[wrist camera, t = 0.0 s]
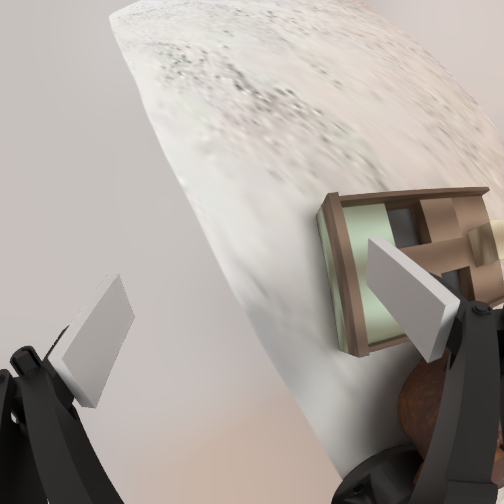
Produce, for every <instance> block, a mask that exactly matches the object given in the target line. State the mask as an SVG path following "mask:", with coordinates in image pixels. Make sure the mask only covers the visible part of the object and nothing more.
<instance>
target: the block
mask: <svg viewBox="0 0 504 504" xmlns="http://www.w3.org/2000/svg"><path fill="white" fill-rule="evenodd" d="M468 235H469V239H470V243H471V247H472V251H473V256H474V260H475V265H476V267H480V266H483V265H486V264H489V263H492V262H495V261H498V260H501V259H504V219H501V220H495V221H489V222H487V223H485V224H484V225H482V226H480V227H478V228H476V229H474V230H472V231H470V232H468Z"/></svg>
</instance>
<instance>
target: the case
mask: <svg viewBox="0 0 504 504" xmlns="http://www.w3.org/2000/svg"><path fill="white" fill-rule="evenodd" d="M450 352H451V351H450V350H449V349H448V347H447V346H446V347H445V350H444V353H443V355H442V357H441V358H439V359H436V360H434V361H431V362H429V363H427V362H426V360H425V359H423V360H422V361H421V362H420V363H419V364H418V366H417V367H416V368H415V369H414V370H413V372H412V373H411V374H410V376H409V377H408V379H407V381H406V382H405V384H404V387H403V389H402V391H401V395H400V398H399V404H398V412H399V419H400V423H401V426H402V428H403V430H404V432H405V433H406V435H407V436H408V437H409V438H410V440H411V441H412V443H413V444H414V446H415V447H416V449H417V450H418V452H419V454H420V455H421V457H422V458H423V460H424V462H425V459H426V456H427V453H428V450H429V446H430V443H431V440H432V436H433V433H434V429H435V425H436V421H437V417H438V413H439V408H440V404H441V399H442V394H443V388H444V383H445V377H446V370H447V368H446V370H445V371H443V369H444V367H445V364H446V362H447V359H448V357H449V354H450ZM424 462H423V463H422V464H421V466H420V469H419V471H418V472H417V473H416V475H415V477H414V480H413V484H414V487H415V486H416V483H417V481H418V478H419V476H420V473H421V470H422V468H423V465H424ZM491 480H492V482H493V483H495V484H497V487H498V489H500V488H502V487H504V446H503V437H502V429H501V422H500V416H499V429H498V438H497V446H496V453H495V459H494V465H493V470H492V476H491Z"/></svg>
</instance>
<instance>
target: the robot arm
mask: <svg viewBox="0 0 504 504" xmlns="http://www.w3.org/2000/svg"><path fill="white" fill-rule="evenodd" d="M366 285H367V286H368V287H369V288H370V290H371V291H372V292H373V293H374V294H375V296H376V297H377V298H378V299H379V301H380V302H381V303H382V304H383V305H384V307H385V308H386V309H387V310H388V312H389V313H390V314H391V315H392V317H393V318H394V319H395V321H396V322H397V323H398V324H399V326H400V327H401V328H402V330H403V331H404V332H405V333H406V335H407V336H408V337H409V339H410V340H411V341H412V343H413V344H414V345H415V347H416V348H417V349H418V351H419V352H420V353H421V355H422V356H423V357H424V359H425V360H426V362H427V363H429V362H431V361H434V360H436V359H439V358H441V357H442V355H443V353H444V350H445V347H446V346H447V347H448V349H449V350H450V351H451V352H450V354H449V357H448V359H447V362H446V364H445V367H444V369H443V371H445V370H446V368H447V370H446V377H445V383H444V388H443V394H442V399H441V404H440V408H439V413H438V417H437V421H436V425H435V429H434V433H433V436H432V440H431V443H430V446H429V450H428V453H427V456H426V459H425V462H424V460H423V458H422V457H421V455H420V454H419V452H418V450H417V449H416V447H415V446H414V445H402V446H398V447H394V448H391V449H388V450H385V451H383V452H381V453H379V454H377V455H375V456H373V457H371V458H370V459H368V460H366V461H365V462H363V463H362V464H361V465H359V466H358V467H357V468H356V469H354V470H353V471H352V472H351V473H350V474H349V475H348V476H347V477H346V478H345V479H344V480H343V481H342V483H341V484H340V485H339V487H338V488H337V490H336V492H335V494H334V496H333V499H332V502H331V504H496V500H497V495H498V487H497V484H495V483H493V482H492V480H491V476H492V470H493V465H494V459H495V453H496V446H497V438H498V429H499V416H500V422H501V429H502V437H503V446H504V306H503V308H502V309H495V310H493V309H492V308H491V307H490V306H489V305H488V304H486V303H485V302H482V301H470V302H469V301H468V300H467V299H466V298H464V297H463V296H462V295H461V294H460V293H459V292H458V291H456V290H455V289H454V288H452V286H450V285H449V284H448V283H446V281H444V280H443V279H442V278H441V277H439V276H437V275H435V274H433V273H431V272H430V273H428V272H426V271H425V270H424V269H423V268H421V267H420V266H419V265H418V264H416V263H415V262H414V261H413V260H411V259H410V258H409V257H408V256H406V255H405V254H404V253H402V252H401V251H400V250H399V249H397V248H396V247H395V246H393V245H392V244H391V243H389V242H388V241H387V240H385V239H384V238H383V237H381V236H378V237H372V238H368V259H367V276H366ZM133 319H134V314H133V311H132V309H131V306H130V304H129V301H128V299H127V296H126V293H125V290H124V287H123V285H122V282H121V279H120V276H119V274H115V275H107V276H106V277H105V279H104V280H103V281H102V283H101V284H100V285H99V286H98V288H97V289H96V290H95V291H94V293H93V294H92V295H91V297H90V298H89V299H88V301H87V302H86V303H85V305H84V306H83V307H82V309H81V310H80V312H79V313H78V314H77V316H76V317H75V318H74V320H73V321H72V323H71V324H70V325H69V326H68V327H66V328H65V329H64V330H63V331H62V332H61V334H60V335H59V337H58V339H57V340H56V341H55V343H54V345H52V347H51V348H50V350H49V351H48V353H47V354H46V356H45V358H44V359H43V361H41V359H40V358H39V356H38V355H37V353H36V352H35V350H34V348H33V347H32V346H24V347H22V348H20V349H18V350H17V351H16V352H15V353H14V354H13V355H12V357H11V359H10V363H11V365H12V366H13V368H14V369H15V371H16V372H17V374H18V375H19V377H14V378H13V377H12V375H11V374H10V372H9V371H8V370H7V369H1V370H0V504H48V501H49V504H124V502H123V501H122V499H121V498H120V496H119V494H118V493H117V491H116V490H115V488H114V486H113V485H112V483H111V481H110V480H109V478H108V476H107V474H106V472H105V471H104V469H103V467H102V465H101V463H100V461H99V459H98V457H97V455H96V453H95V451H94V450H93V447H92V445H91V444H90V441H89V439H88V437H87V435H86V432H85V430H84V428H83V425H82V423H81V421H80V418H79V415H78V413H77V411H76V408H75V407H74V406H73V404H72V402H73V400H74V398H75V399H76V400H77V401H78V402H79V404H80V405H81V406H82V407H89V408H96V407H97V404H98V401H99V399H100V396H101V394H102V391H103V389H104V386H105V384H106V381H107V379H108V376H109V374H110V371H111V369H112V366H113V364H114V362H115V360H116V357H117V355H118V353H119V350H120V348H121V346H122V343H123V341H124V339H125V337H126V335H127V332H128V330H129V328H130V326H131V324H132V322H133ZM11 413H12V414H13V415H14V416H15V418H16V423H15V422H13V420H12V418H11ZM423 462H424V465H423V468H422V470H421V473H420V476H419V478H418V481H417V483H416V486H415V487H414V484H413V480H414V477H415V475H416V473H417V472H418V471H419V469H420V466H421V464H422V463H423ZM47 499H48V500H47Z"/></svg>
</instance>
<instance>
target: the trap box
mask: <svg viewBox="0 0 504 504" xmlns="http://www.w3.org/2000/svg"><path fill="white" fill-rule="evenodd" d="M489 190H490V189H489V187H464V188H440V189H422V190H406V191H392V192H379V193H367V194H356V195H346V196H339V194H338V192H335V193H328V194H327V196H326V198H325V200H324V202H323V203H322V205H321V207H320V209H319V211H318V213H317V215H316V219H317V223H318V228H319V233H320V237H321V242H322V247H323V252H324V257H325V262H326V267H327V273H328V278H329V284H330V289H331V295H332V301H333V307H334V314H335V320H336V327H337V334H338V341H339V348H340V351H342V352H345V353H347V354H350V355H353V356H356V357H358V358H360V357H364V356H368V355H369V353H370V352H374V351H377V350H381V349H384V348H388V347H391V346H394V345H398V344H401V343H404V342H407V341H410V339H409V337H408V336H407V335H406V333H405V332H404V331H403V330H402V328H401V327H400V326H399V324H398V323H397V322H396V321H395V319H394V318H393V317H392V315H391V314H390V313H389V312H388V310H387V309H386V308H385V307H384V305H383V304H382V303H381V302H380V301H379V299H378V298H377V297H376V296H375V294H374V293H373V292H372V291H371V290H370V288H369V287H368V286H367V285H366V276H367V259H368V238H372V237H378V236H381V237H383V238H384V239H385V240H387V241H388V242H389V243H391V244H392V245H393V246H395V247H396V248H397V249H399V250H400V251H401V252H402V253H404V254H405V255H406V256H408V257H409V258H410V259H411V260H413V261H414V262H415V263H416V264H418V265H419V266H420V267H421V268H423V269H424V270H425V271H426V272H428V273H430V272H431V273H433V274H435V275H437V276H439V277H441V278H442V279H443V280H444V281H446V283H448V284H449V285H450V286H452V288H454V289H455V290H456V291H458V292H459V293H460V294H461V295H462V296H463V297H464V298H466V299H467V300H468V301H469V302H470V301H482V302H485V303H486V304H488V305H489V306H490V307H491V308H493V307H495V306H497V305H499V304H501V303H503V302H504V281H503V275H502V269H501V264H500V260H498V261H495V262H492V263H489V264H486V265H483V266H480V267H476V265H475V260H474V256H473V251H472V247H471V243H470V239H469V235H468V232H470V231H472V230H474V229H476V228H478V227H480V226H482V225H484V224H485V223H487V222H489V221H490V220H489V217H488V213H487V210H486V207H485V204H484V201H483V198H482V195H483V194H485V193H486V192H488V191H489Z"/></svg>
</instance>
